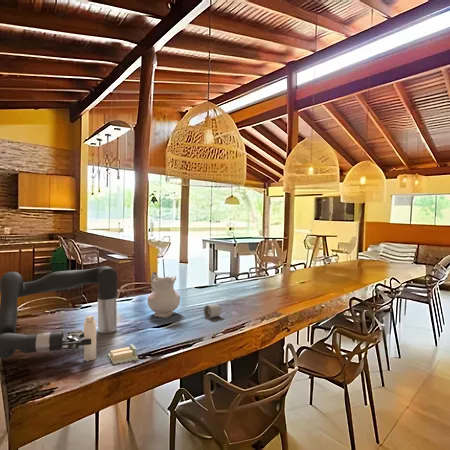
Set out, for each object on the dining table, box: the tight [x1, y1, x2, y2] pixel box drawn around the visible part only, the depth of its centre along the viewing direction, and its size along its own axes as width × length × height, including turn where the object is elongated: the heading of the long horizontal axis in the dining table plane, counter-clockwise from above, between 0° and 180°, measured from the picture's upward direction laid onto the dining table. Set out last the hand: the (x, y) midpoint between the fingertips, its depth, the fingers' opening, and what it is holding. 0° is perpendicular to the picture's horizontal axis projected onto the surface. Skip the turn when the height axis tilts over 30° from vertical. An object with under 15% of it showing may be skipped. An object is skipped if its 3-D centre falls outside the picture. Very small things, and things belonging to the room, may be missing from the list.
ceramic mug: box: [203, 303, 222, 319], centre depth 207 cm, size 11×8×8 cm
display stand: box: [107, 343, 139, 365], centre depth 149 cm, size 10×10×4 cm
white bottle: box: [83, 315, 97, 362], centre depth 148 cm, size 5×5×18 cm
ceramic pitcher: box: [147, 271, 181, 319], centre depth 211 cm, size 22×20×25 cm
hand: (92, 337), depth 148 cm, fingers open, 8 cm apart
